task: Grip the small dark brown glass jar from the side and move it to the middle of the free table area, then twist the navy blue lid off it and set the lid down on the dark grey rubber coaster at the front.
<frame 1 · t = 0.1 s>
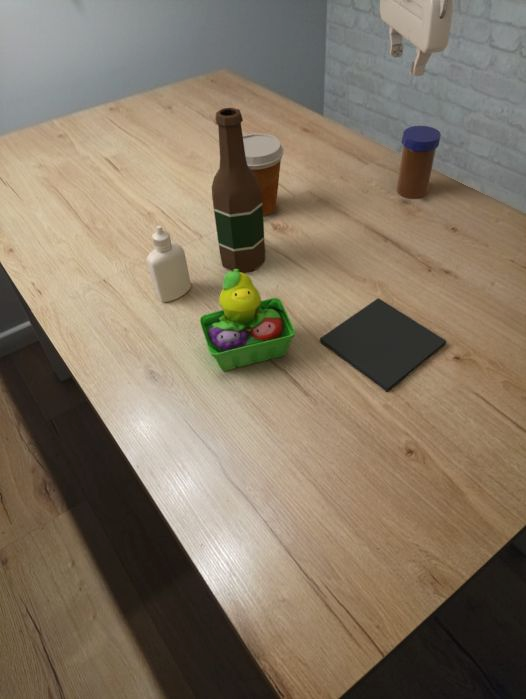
hand: (406, 64, 89), 19 cm above the table, tool pointing down, fingers open, 8 cm apart
beer bottle: (242, 260, 85), on the table
coaster: (382, 343, 71), on the table
lid: (421, 135, 89), point 10 cm above the table, screwed on, not yet turned
disposable coffee cup: (259, 208, 95), on the table
eye dropper bottle: (174, 293, 80), on the table
jar: (411, 190, 97), on the table
fruit basket: (248, 348, 72), on the table
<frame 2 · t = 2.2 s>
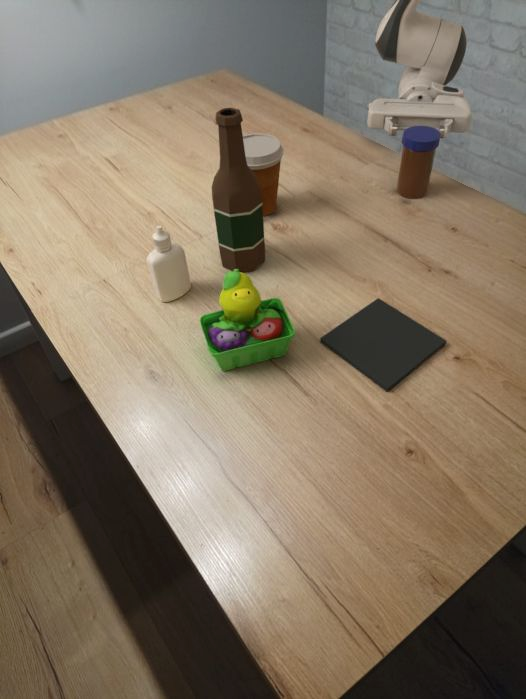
hand: (417, 133, 100), 6 cm above the table, tool horizontal, fingers open, 8 cm apart
nothing on the table moved.
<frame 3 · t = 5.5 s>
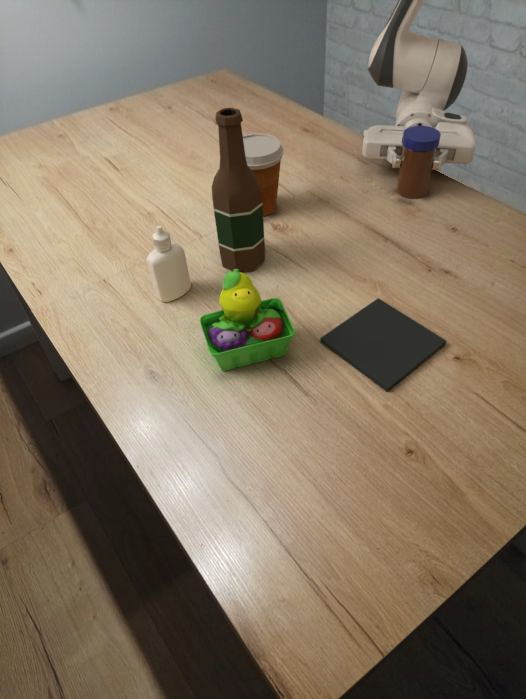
hand: (416, 165, 92), 6 cm above the table, tool horizontal, fingers closed on jar, 5 cm apart
jar: (411, 190, 97), on the table, touching gripper
everything else where it was.
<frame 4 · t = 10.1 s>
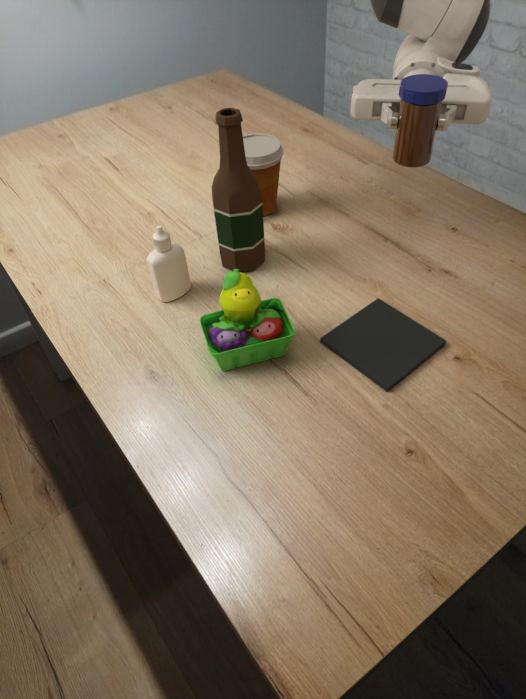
hand: (417, 124, 74), 19 cm above the table, tool horizontal, fingers closed on jar, 5 cm apart
lid: (423, 85, 71), point 24 cm above the table, screwed on, not yet turned
jar: (411, 158, 78), point 13 cm above the table, touching gripper
everything else where it was.
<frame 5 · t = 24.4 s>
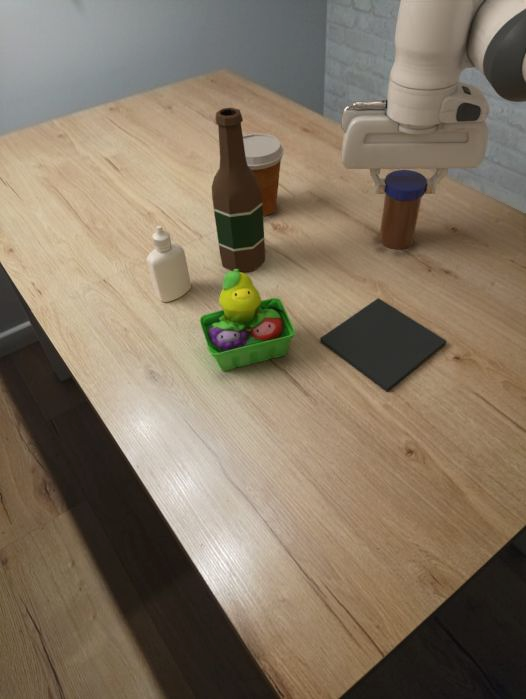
hand: (404, 192, 80), 9 cm above the table, tool pointing down, fingers closed on lid, 6 cm apart
lid: (405, 182, 79), point 10 cm above the table, screwed on, not yet turned, touching gripper
jar: (395, 239, 87), on the table
everything else where it was.
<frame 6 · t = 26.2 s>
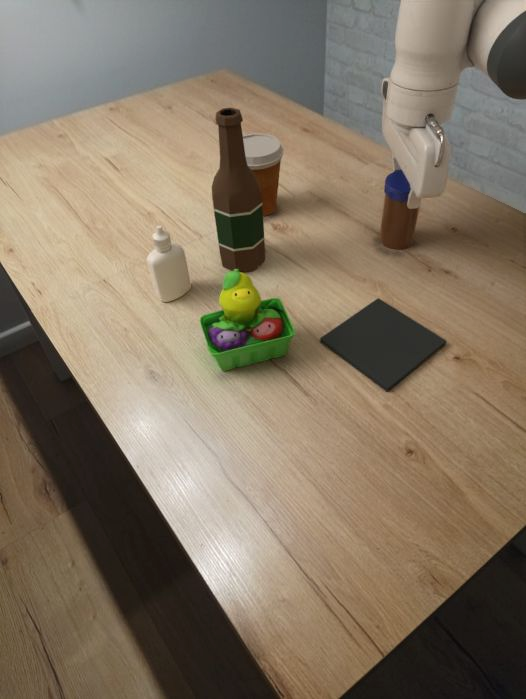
hand: (405, 192, 80), 9 cm above the table, tool pointing down, fingers closed on lid, 6 cm apart
lid: (405, 183, 79), point 10 cm above the table, off its thread, touching gripper
everything else where it was.
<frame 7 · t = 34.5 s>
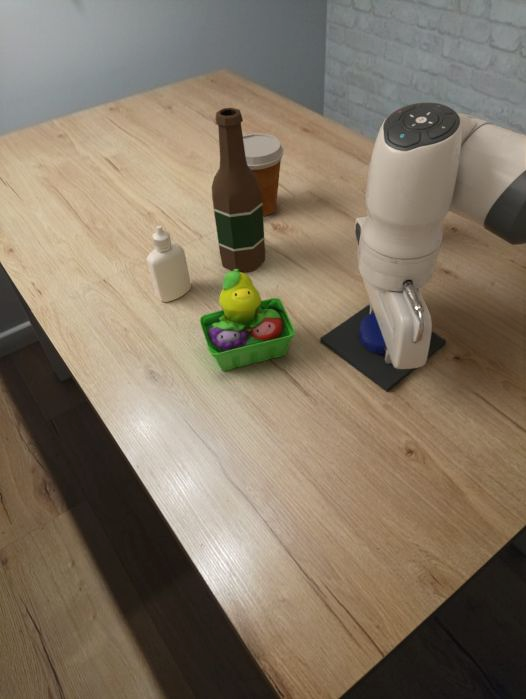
hand: (383, 338, 70), 1 cm above the table, tool pointing down, fingers closed on lid, 6 cm apart
lid: (383, 330, 69), point 3 cm above the table, off its thread, touching gripper
everything else where it was.
when the fingers open (2 cm above the table, at t = 48.9 s): lid drops 2 cm, resting on coaster.
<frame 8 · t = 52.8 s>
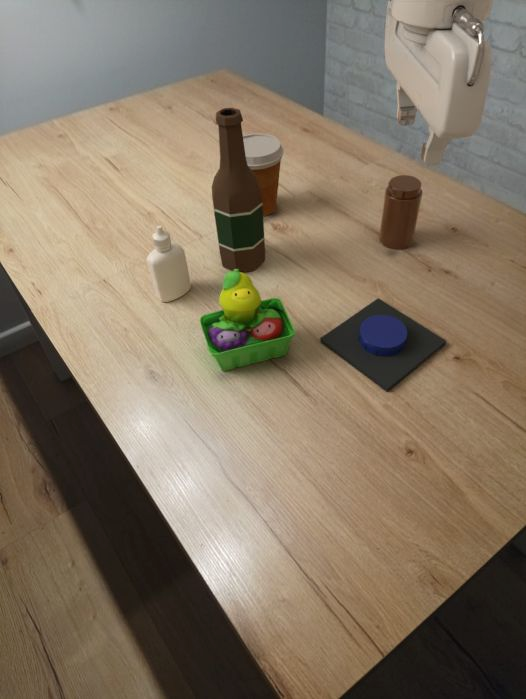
hand: (417, 141, 57), 25 cm above the table, tool pointing down, fingers open, 8 cm apart
lid: (383, 332, 69), point 2 cm above the table, off its thread, touching coaster
everything else where it was.
at the end: lid inside the target area on the coaster (0.1 cm from its centre), point 2.1 cm above the coaster's base; the gripper is holding nothing; jar inside the target area (0.2 cm from its centre), on the table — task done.
